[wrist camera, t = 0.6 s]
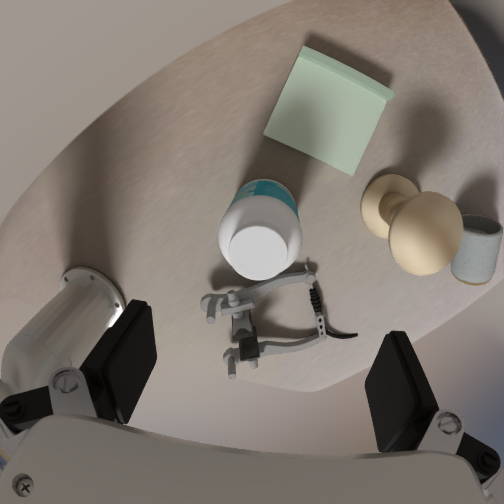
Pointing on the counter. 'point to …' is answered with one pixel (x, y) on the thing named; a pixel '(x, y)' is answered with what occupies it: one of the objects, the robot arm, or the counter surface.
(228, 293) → the bike brake
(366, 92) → the board
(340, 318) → the counter surface
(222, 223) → the pill bottle
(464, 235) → the ceramic mug
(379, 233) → the bobbin
